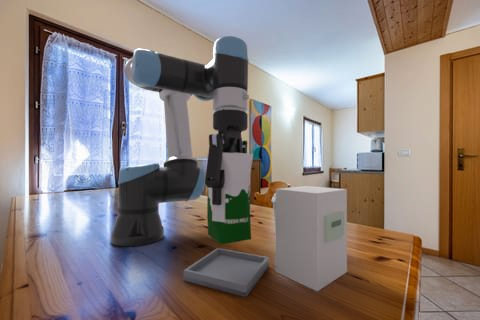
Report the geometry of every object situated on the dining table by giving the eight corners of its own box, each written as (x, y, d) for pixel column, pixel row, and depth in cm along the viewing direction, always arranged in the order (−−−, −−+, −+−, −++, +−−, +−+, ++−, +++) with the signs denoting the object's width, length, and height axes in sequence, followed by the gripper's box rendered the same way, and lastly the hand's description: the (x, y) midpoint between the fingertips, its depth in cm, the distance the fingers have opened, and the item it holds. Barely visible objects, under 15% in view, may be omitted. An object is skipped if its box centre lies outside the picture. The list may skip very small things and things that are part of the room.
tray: (183, 280, 46) (183, 270, 46) (217, 255, 58) (217, 247, 58) (245, 297, 40) (245, 285, 40) (269, 266, 52) (269, 257, 52)
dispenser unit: (274, 271, 50) (274, 188, 50) (305, 257, 58) (305, 185, 58) (321, 293, 41) (320, 193, 42) (350, 273, 49) (350, 189, 49)
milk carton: (237, 229, 55) (238, 146, 55) (257, 240, 47) (258, 143, 47) (202, 234, 51) (203, 144, 51) (217, 247, 43) (219, 140, 43)
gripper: (221, 96, 38) (220, 231, 38) (262, 119, 58) (262, 209, 57) (185, 101, 41) (184, 226, 41) (236, 122, 61) (235, 206, 60)
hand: (229, 216), depth 49 cm, fingers closed on milk carton, 9 cm apart
